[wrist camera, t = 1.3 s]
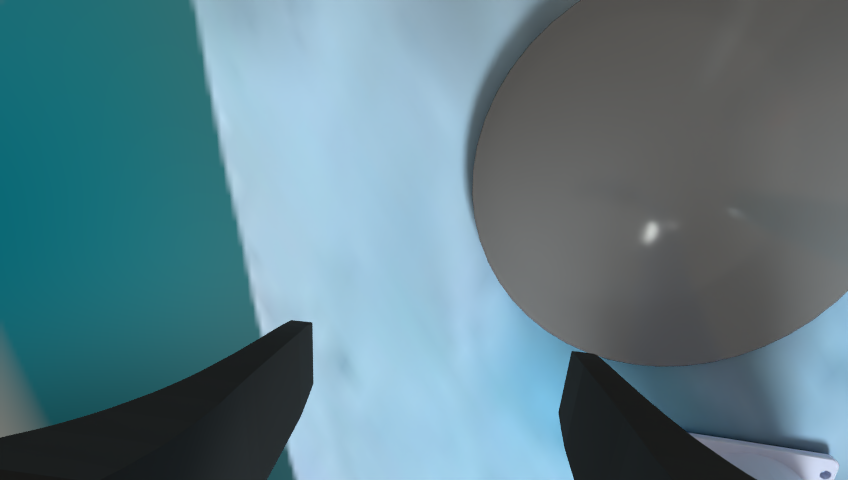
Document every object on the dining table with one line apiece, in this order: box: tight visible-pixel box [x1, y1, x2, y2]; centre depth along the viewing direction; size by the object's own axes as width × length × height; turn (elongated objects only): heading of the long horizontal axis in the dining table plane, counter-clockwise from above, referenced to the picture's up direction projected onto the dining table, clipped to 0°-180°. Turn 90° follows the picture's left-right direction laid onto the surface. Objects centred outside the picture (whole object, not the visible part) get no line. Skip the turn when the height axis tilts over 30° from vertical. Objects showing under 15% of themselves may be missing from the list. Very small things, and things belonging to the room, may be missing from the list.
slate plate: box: [472, 0, 848, 366], centre depth 20 cm, size 18×18×1 cm
